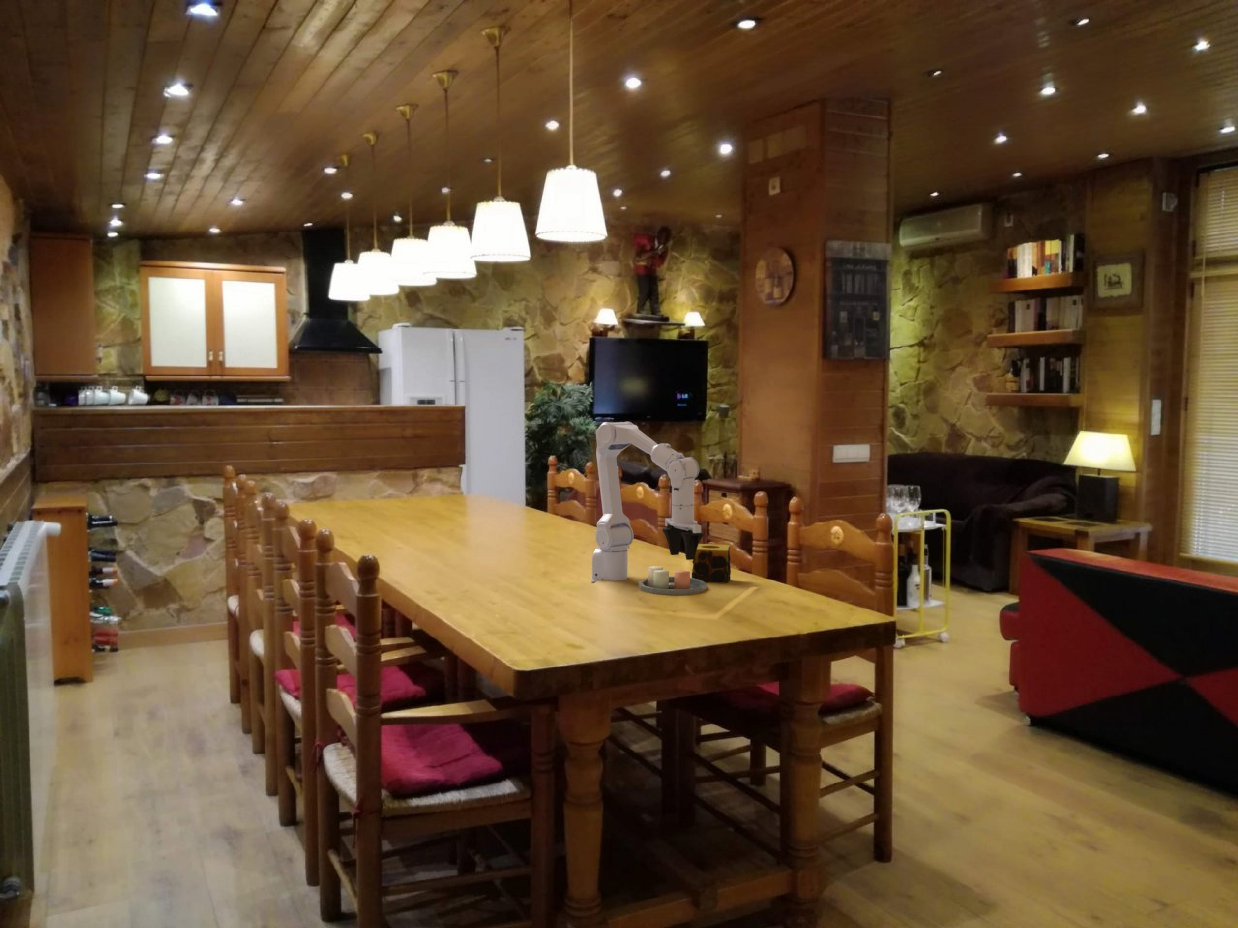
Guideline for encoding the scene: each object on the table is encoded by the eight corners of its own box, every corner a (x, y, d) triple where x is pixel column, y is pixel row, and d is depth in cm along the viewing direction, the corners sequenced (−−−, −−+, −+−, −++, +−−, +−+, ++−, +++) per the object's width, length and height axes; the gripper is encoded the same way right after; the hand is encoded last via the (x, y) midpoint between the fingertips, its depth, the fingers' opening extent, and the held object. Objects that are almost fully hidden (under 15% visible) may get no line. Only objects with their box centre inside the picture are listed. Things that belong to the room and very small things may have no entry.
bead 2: (685, 593, 243) (685, 574, 243) (671, 591, 245) (671, 572, 245) (692, 590, 247) (692, 571, 246) (678, 588, 249) (678, 569, 248)
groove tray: (629, 594, 245) (629, 586, 245) (652, 582, 262) (652, 574, 261) (694, 601, 239) (694, 592, 239) (713, 587, 255) (713, 579, 255)
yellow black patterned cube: (728, 587, 257) (728, 550, 256) (691, 585, 259) (691, 549, 258) (731, 579, 267) (732, 544, 266) (695, 578, 269) (696, 543, 268)
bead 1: (646, 584, 253) (646, 566, 253) (661, 584, 254) (661, 565, 254) (649, 587, 249) (649, 569, 249) (664, 587, 250) (664, 568, 250)
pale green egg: (651, 591, 245) (651, 572, 245) (656, 588, 249) (656, 569, 249) (665, 592, 244) (666, 573, 244) (670, 589, 248) (671, 570, 247)
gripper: (711, 507, 240) (710, 560, 241) (681, 501, 252) (680, 551, 253) (687, 508, 236) (687, 562, 237) (658, 502, 249) (658, 553, 250)
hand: (682, 557), depth 245 cm, fingers open, 7 cm apart
